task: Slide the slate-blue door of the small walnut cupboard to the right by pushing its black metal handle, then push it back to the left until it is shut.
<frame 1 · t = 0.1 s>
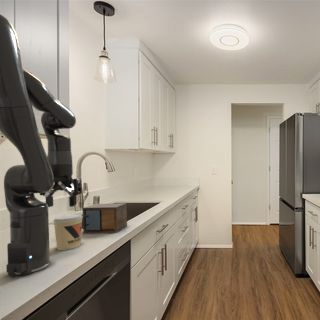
hand: (61, 206, 89), 17 cm above the counter, tool pointing down, fingers open, 8 cm apart
cupboard: (106, 229, 116), on the counter
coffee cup: (69, 246, 94), on the counter
sliding door: (90, 221, 110), point 6 cm above the counter, slide at 0.0 cm
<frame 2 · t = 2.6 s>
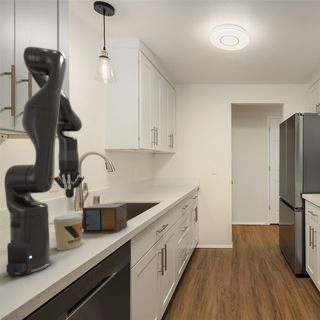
hand: (69, 197, 108), 18 cm above the counter, tool pointing down, fingers closed
nothing on the counter moved.
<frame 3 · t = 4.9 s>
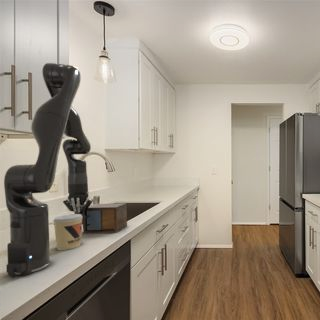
hand: (78, 220, 108), 7 cm above the counter, tool pointing down, fingers closed
sliding door: (91, 221, 110), point 6 cm above the counter, slide at 0.5 cm, touching gripper
everything else where it was.
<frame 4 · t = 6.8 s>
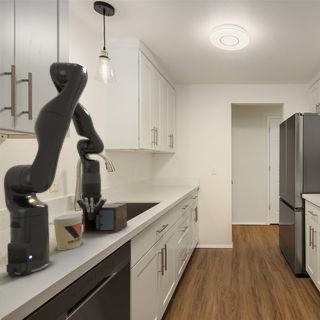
hand: (92, 219, 108), 7 cm above the counter, tool pointing down, fingers closed
sliding door: (104, 220, 110), point 6 cm above the counter, slide at 6.7 cm, touching gripper
everything else where it was.
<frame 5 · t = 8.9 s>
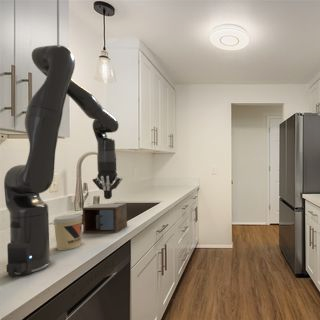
hand: (108, 198, 108), 17 cm above the counter, tool pointing down, fingers closed
sliding door: (104, 220, 110), point 6 cm above the counter, slide at 6.6 cm
everything else where it was.
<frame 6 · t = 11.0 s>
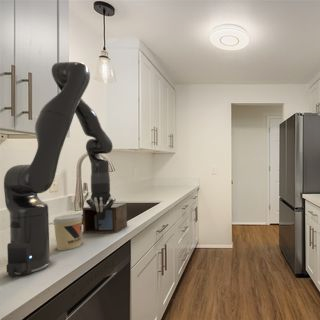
hand: (101, 219, 108), 7 cm above the counter, tool pointing down, fingers closed
sliding door: (103, 220, 110), point 6 cm above the counter, slide at 6.1 cm, touching gripper
everything else where it was.
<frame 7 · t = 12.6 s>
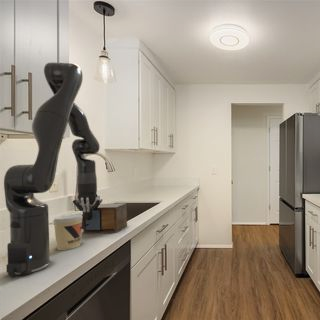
hand: (88, 219, 108), 7 cm above the counter, tool pointing down, fingers closed
sliding door: (90, 221, 110), point 6 cm above the counter, slide at -0.1 cm, touching gripper
everything else where it was.
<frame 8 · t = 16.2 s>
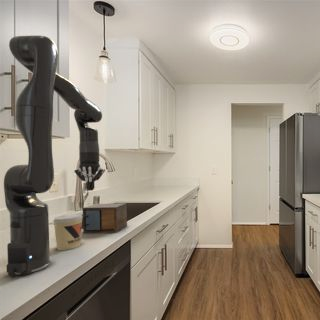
hand: (90, 190, 105), 21 cm above the counter, tool pointing down, fingers closed
sliding door: (90, 221, 110), point 6 cm above the counter, slide at 0.0 cm
everything else where it was.
at the end: sliding door pulled out 6.7 cm at the most during the clip and back in by the end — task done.
